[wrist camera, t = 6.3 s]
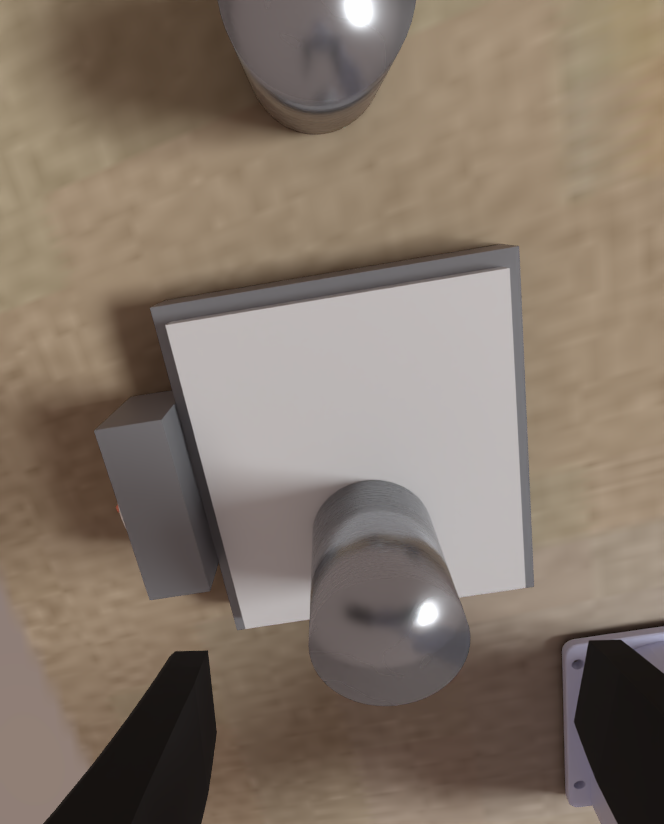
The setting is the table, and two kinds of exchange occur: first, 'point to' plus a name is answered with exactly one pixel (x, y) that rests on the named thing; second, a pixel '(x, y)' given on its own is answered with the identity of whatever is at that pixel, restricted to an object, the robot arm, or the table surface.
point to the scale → (329, 426)
